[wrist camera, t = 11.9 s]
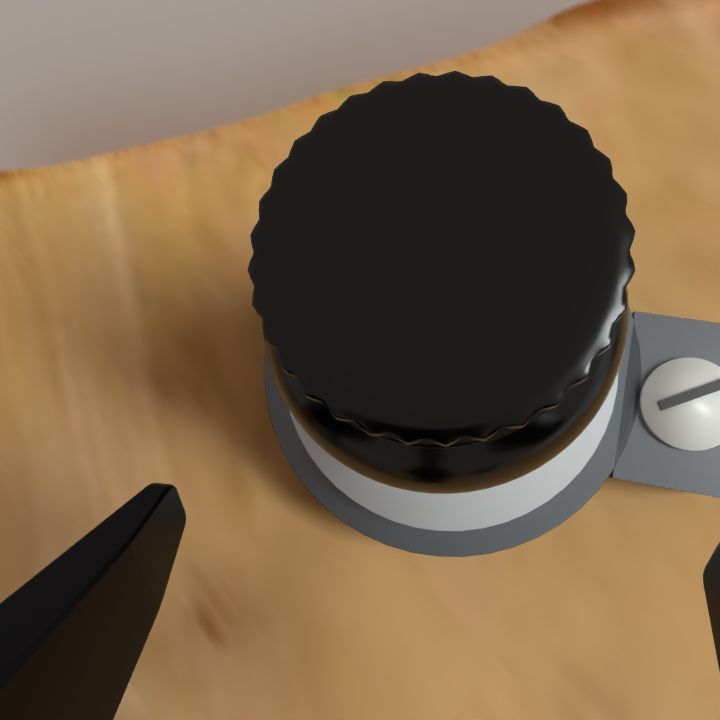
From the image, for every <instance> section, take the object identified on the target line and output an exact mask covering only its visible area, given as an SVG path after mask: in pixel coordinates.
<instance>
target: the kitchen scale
mask: <svg viewBox="0 0 720 720" xmlns="http://www.w3.org/2000/svg"><path fill="white" fill-rule="evenodd" d="M265 389H266V397H267V405H268V409H269V413H270V417H271V421H272V425H273V428H274V431H275V433H276V436H277V438H278V441H279V443H280V446H281V448H282V450H283V452H284V454H285V456H286V458H287V460H288V461H289V463H290V465H291V467H292V469H293V470H294V472H295V473H296V474H297V476H298V477H299V478H300V480H301V481H302V483H303V484H304V485H305V487H306V488H307V489H308V490H309V491H310V492H311V494H312V495H313V496H314V497H315V498H316V499H317V500H318V501H319V502H320V503H321V504H322V505H323V506H324V507H325V508H326V509H328V510H329V511H330V512H331V513H333V514H334V515H335V516H336V517H337V518H339V519H340V520H341V521H342V522H344V523H345V524H347V525H349V526H350V527H352V528H354V529H355V530H357V531H359V532H360V533H362V534H363V535H365V536H368V537H370V538H372V539H374V540H377V541H379V542H381V543H383V544H386V545H388V546H392V547H395V548H398V549H402V550H405V551H409V552H412V553H419V554H425V555H432V556H448V557H465V556H474V555H482V554H490V553H493V552H497V551H501V550H505V549H509V548H513V547H516V546H518V545H521V544H523V543H525V542H528V541H530V540H533V539H535V538H538V537H539V536H541V535H543V534H545V533H546V532H548V531H550V530H551V529H553V528H555V527H557V526H558V525H560V524H561V523H563V522H564V521H565V520H567V519H568V518H569V517H570V516H572V515H573V514H574V513H575V512H577V511H578V510H579V509H581V508H582V507H583V506H584V504H585V503H586V502H587V501H588V500H589V499H590V498H591V497H592V496H593V495H594V494H595V493H596V492H597V491H598V490H599V489H600V487H601V486H602V485H603V483H604V482H605V480H606V479H607V478H608V477H611V478H616V479H622V480H627V481H632V482H638V483H643V484H648V485H654V486H659V487H664V488H670V489H675V490H680V491H686V492H691V493H696V494H702V495H707V496H712V497H718V498H720V323H715V322H708V321H700V320H693V319H686V318H679V317H672V316H664V315H657V314H650V313H643V312H633V313H632V314H631V311H630V309H629V318H628V333H627V339H626V346H625V350H624V354H623V358H622V362H621V366H620V368H619V371H618V374H617V376H616V379H615V382H614V384H613V386H612V388H611V390H610V392H609V394H608V396H607V398H606V400H605V402H604V403H603V405H602V407H601V408H600V410H599V411H598V413H597V414H596V416H595V417H594V419H593V420H592V421H591V422H590V424H589V425H588V426H587V427H586V429H585V430H584V431H583V432H582V433H581V434H580V435H579V436H578V437H577V438H576V439H575V440H574V441H573V442H572V443H571V444H570V445H569V446H568V447H567V448H566V449H564V450H563V451H562V452H561V453H560V454H558V455H557V456H556V457H555V458H553V459H552V460H550V461H549V462H547V463H546V464H544V465H543V466H541V467H540V468H538V469H536V470H534V471H532V472H530V473H528V474H526V475H524V476H523V477H520V478H518V479H515V480H513V481H510V482H508V483H505V484H502V485H499V486H495V487H492V488H488V489H484V490H478V491H473V492H466V493H455V494H430V493H421V492H413V491H408V490H403V489H399V488H395V487H391V486H388V485H385V484H382V483H379V482H376V481H374V480H372V479H370V478H367V477H365V476H363V475H361V474H359V473H357V472H355V471H353V470H352V469H350V468H348V467H346V466H345V465H343V464H342V463H340V462H339V461H338V460H336V459H335V458H333V457H332V456H331V455H329V454H328V453H327V452H326V451H325V450H324V449H322V448H321V447H320V446H319V445H318V444H317V443H316V442H315V441H314V440H313V439H312V438H311V437H310V436H309V435H308V434H307V433H306V432H305V430H304V429H303V428H302V427H301V425H300V424H299V423H298V422H297V420H296V419H295V417H294V416H293V414H292V413H291V411H290V410H289V408H288V407H287V405H286V403H285V401H284V399H283V397H282V395H281V393H280V391H279V389H278V387H277V384H276V382H275V379H274V377H273V374H272V371H271V368H270V364H269V361H268V357H267V352H266V353H265Z"/></svg>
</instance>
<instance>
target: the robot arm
mask: <svg viewBox="0 0 720 720" xmlns="http://www.w3.org/2000/svg"><path fill="white" fill-rule="evenodd" d="M185 523H186V514H185V510H184V507H183V505H182V502H181V500H180V497H179V494H178V492H177V489H176V487H175V486H173V485H171V484H162V483H152V484H150V485H148V486H147V487H145V488H144V489H143V490H141V491H140V492H139V493H138V494H136V495H135V496H134V497H133V498H131V499H130V500H129V501H128V502H126V503H125V504H124V505H123V506H121V507H120V508H119V509H118V510H116V511H115V512H114V513H113V514H111V515H110V516H109V517H108V518H106V519H105V520H104V521H103V522H101V523H100V524H99V525H98V526H96V527H95V528H94V529H93V530H91V531H90V532H89V533H88V534H86V535H85V536H84V537H83V538H81V539H80V540H79V541H78V542H76V543H75V544H74V545H73V546H71V547H70V548H69V549H68V550H66V551H65V552H64V553H63V554H61V555H60V556H59V557H58V558H56V559H55V560H54V561H53V562H51V563H50V564H49V565H48V566H46V567H45V568H44V569H43V570H41V571H40V572H39V573H38V574H36V575H35V576H34V577H33V578H31V579H30V580H29V581H28V582H26V583H25V584H24V585H23V586H21V587H20V588H19V589H18V590H16V591H15V592H14V593H13V594H11V595H10V596H9V597H8V598H6V599H5V600H4V601H3V602H1V603H0V720H113V719H114V716H115V714H116V712H117V709H118V707H119V704H120V702H121V700H122V697H123V695H124V693H125V690H126V688H127V685H128V683H129V681H130V678H131V676H132V673H133V671H134V669H135V666H136V664H137V662H138V659H139V657H140V654H141V652H142V650H143V647H144V645H145V642H146V640H147V638H148V635H149V633H150V631H151V628H152V626H153V623H154V621H155V619H156V616H157V613H158V611H159V608H160V606H161V603H162V600H163V597H164V594H165V590H166V587H167V584H168V580H169V577H170V574H171V570H172V567H173V564H174V560H175V557H176V554H177V551H178V547H179V544H180V541H181V537H182V534H183V531H184V527H185ZM703 584H704V590H705V595H706V600H707V606H708V611H709V617H710V622H711V628H712V633H713V638H714V644H715V649H716V655H717V660H718V666H719V670H720V543H719V544H718V545H717V547H716V549H715V551H714V553H713V554H712V556H711V558H710V560H709V561H708V563H707V565H706V567H705V569H704V573H703Z"/></svg>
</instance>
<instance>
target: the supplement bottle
mask: <svg viewBox="0 0 720 720" xmlns="http://www.w3.org/2000/svg"><path fill="white" fill-rule="evenodd" d="M626 205H627V194H626V192H625V191H624V190H623V188H622V187H621V186H620V185H619V184H618V183H617V182H616V181H615V180H614V179H613V175H612V165H611V161H610V159H609V158H608V157H606V156H605V155H604V154H603V153H601V152H600V151H599V150H597V149H596V148H594V146H593V142H592V139H591V137H590V135H589V133H588V130H586V129H585V128H583V127H581V126H579V125H577V124H575V123H573V122H571V121H569V120H568V118H567V117H566V115H565V113H564V111H563V110H562V109H561V107H560V106H559V105H556V104H553V103H550V102H546V101H541V100H539V99H538V98H537V97H536V96H535V94H534V93H533V92H532V91H531V90H530V89H528V88H527V87H520V86H507V85H506V84H504V83H502V82H501V81H500V80H499V79H497V78H495V77H494V76H480V77H473V78H472V77H470V76H468V75H466V74H463V73H460V72H457V71H453V72H449V73H445V74H442V75H439V76H432V75H429V74H423V73H418V74H415V75H413V76H411V77H409V78H407V79H405V80H403V81H397V82H395V81H383V82H382V83H380V84H379V85H377V86H376V87H375V88H373V89H372V90H371V91H370V92H368V93H364V94H357V95H352V96H350V97H349V98H348V99H347V100H346V101H345V102H344V103H343V104H342V105H341V106H340V107H339V108H338V109H337V110H334V111H331V112H328V113H326V114H324V115H321V116H320V117H319V119H318V120H317V121H316V123H315V124H314V126H313V128H312V130H311V131H310V132H309V133H307V134H305V135H303V136H301V137H300V138H298V139H297V140H295V141H294V144H293V146H292V148H291V151H290V153H289V156H288V158H287V159H285V160H284V161H283V162H282V163H281V164H280V165H279V166H277V167H276V168H275V169H274V173H273V177H272V183H271V187H270V189H269V190H268V191H267V192H266V193H265V194H264V196H263V197H262V198H261V200H260V201H259V220H258V222H257V224H256V225H255V227H254V229H253V231H252V233H251V235H250V236H251V243H252V247H253V251H254V253H253V256H252V259H251V260H250V263H249V267H248V272H249V275H250V278H251V280H252V282H253V284H254V292H253V301H252V305H253V307H254V309H255V310H256V312H257V313H258V315H260V316H261V317H262V319H263V334H264V341H265V347H266V352H267V357H268V361H269V364H270V368H271V371H272V374H273V377H274V379H275V382H276V384H277V387H278V389H279V391H280V393H281V395H282V397H283V399H284V401H285V403H286V405H287V407H288V408H289V410H290V411H291V413H292V414H293V416H294V417H295V419H296V420H297V422H298V423H299V424H300V425H301V427H302V428H303V429H304V430H305V432H306V433H307V434H308V435H309V436H310V437H311V438H312V439H313V440H314V441H315V442H316V443H317V444H318V445H319V446H320V447H321V448H322V449H324V450H325V451H326V452H327V453H328V454H329V455H331V456H332V457H333V458H335V459H336V460H338V461H339V462H340V463H342V464H343V465H345V466H346V467H348V468H350V469H352V470H353V471H355V472H357V473H359V474H361V475H363V476H365V477H367V478H370V479H372V480H374V481H376V482H379V483H382V484H385V485H388V486H391V487H395V488H399V489H403V490H408V491H413V492H421V493H430V494H455V493H466V492H473V491H478V490H484V489H488V488H492V487H495V486H499V485H502V484H505V483H508V482H510V481H513V480H515V479H518V478H520V477H523V476H524V475H526V474H528V473H530V472H532V471H534V470H536V469H538V468H540V467H541V466H543V465H544V464H546V463H547V462H549V461H550V460H552V459H553V458H555V457H556V456H557V455H558V454H560V453H561V452H562V451H563V450H564V449H566V448H567V447H568V446H569V445H570V444H571V443H572V442H573V441H574V440H575V439H576V438H577V437H578V436H579V435H580V434H581V433H582V432H583V431H584V430H585V429H586V427H587V426H588V425H589V424H590V422H591V421H592V420H593V419H594V417H595V416H596V414H597V413H598V411H599V410H600V408H601V407H602V405H603V403H604V402H605V400H606V398H607V396H608V394H609V392H610V390H611V388H612V386H613V384H614V382H615V379H616V376H617V374H618V371H619V368H620V366H621V362H622V358H623V354H624V350H625V346H626V339H627V333H628V318H629V306H628V291H627V284H628V283H629V282H630V280H631V278H632V276H633V274H634V272H635V267H634V262H633V259H632V257H631V255H630V247H631V245H632V242H633V239H634V235H635V229H634V227H633V225H632V223H631V221H630V220H629V219H628V217H627V215H626Z"/></svg>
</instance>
